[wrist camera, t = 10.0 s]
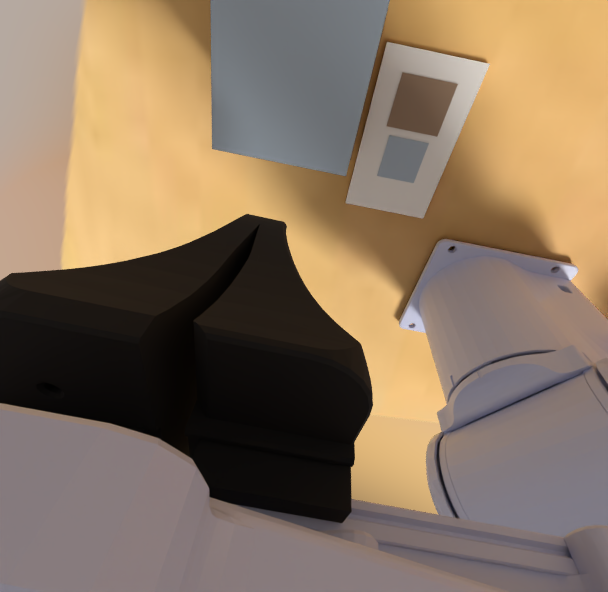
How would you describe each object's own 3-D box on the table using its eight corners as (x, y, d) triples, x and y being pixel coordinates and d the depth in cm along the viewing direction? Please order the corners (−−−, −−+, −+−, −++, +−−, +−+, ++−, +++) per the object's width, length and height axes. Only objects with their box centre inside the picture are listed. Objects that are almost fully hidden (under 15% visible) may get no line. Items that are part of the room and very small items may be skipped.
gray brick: (374, 10, 13) (391, -7, 9) (344, 141, 16) (346, 176, 12) (253, -17, 13) (210, -48, 9) (247, 120, 16) (212, 148, 12)
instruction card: (488, 63, 15) (490, 63, 15) (422, 217, 20) (423, 219, 20) (386, 41, 15) (387, 41, 15) (345, 202, 20) (345, 203, 20)
